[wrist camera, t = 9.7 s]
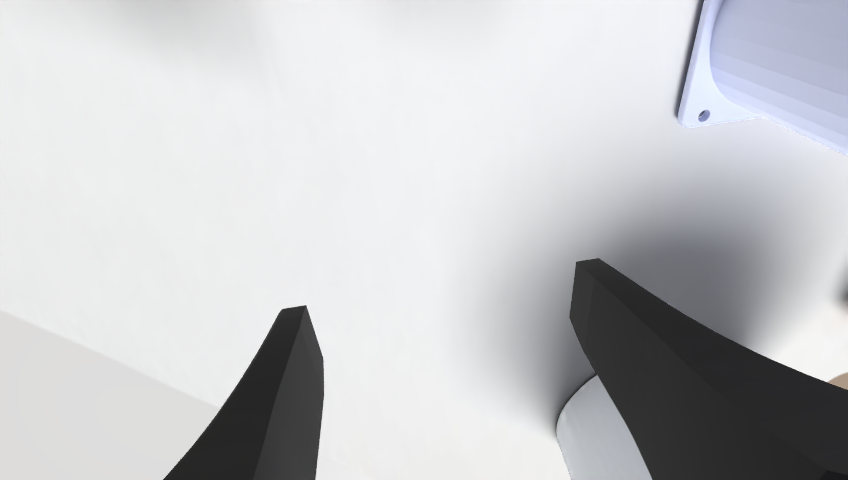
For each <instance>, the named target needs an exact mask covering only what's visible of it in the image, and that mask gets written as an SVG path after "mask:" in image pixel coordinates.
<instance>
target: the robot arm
mask: <svg viewBox="0 0 848 480" xmlns="http://www.w3.org/2000/svg"><path fill="white" fill-rule="evenodd" d="M702 111H704V114H703V115H702V116H701V117H700V118H698V117H699V115H700V113H701V112H702ZM756 118H766V119H768V120H770V121H772V122H774V123H776V124H779V125H781V126H783V127H785V128H787V129H789V130H792V131H794V132H796V133H798V134H800V135H802V136H805V137H807V138H809V139H811V140H813V141H815V142H817V143H820V144H822V145H824V146H826V147H828V148H830V149H833V150H835V151H837V152H839V153H841V154H843V155H846V156H848V0H704V3H703V8H702V12H701V16H700V21H699V25H698V29H697V34H696V38H695V43H694V47H693V51H692V56H691V60H690V64H689V69H688V73H687V78H686V82H685V86H684V91H683V95H682V99H681V104H680V108H679V112H678V122H679V124H681V125H682V126H684V127H685V128H694V127H701V126H707V125H714V124H721V123H728V122H735V121H742V120H749V119H756ZM570 320H571V322H572V325H573V327H574V330H575V332H576V335H577V337H578V339H579V342H580V344H581V346H582V349H583V351H584V353H585V354H586V356H587V358H588V360H589V361H590V363H591V365H592V367H593V368H594V370H595V372H596V374H597V375H598V377H599V379H600V381H601V382H602V384H603V386H604V387H605V389H606V391H607V393H608V394H609V396H610V398H611V399H612V401H613V403H614V405H615V406H616V408H617V410H618V411H619V413H620V415H621V416H622V418H623V420H624V422H625V423H626V425H627V427H628V429H629V431H630V433H631V435H632V437H633V439H634V441H635V443H636V445H637V447H638V449H639V452H640V454H641V456H642V458H643V460H644V462H645V465H646V467H647V469H648V471H649V473H650V476H651V478H652V480H848V390H846V389H843V388H841V387H838V386H835V385H832V384H829V383H827V382H824V381H822V380H819V379H817V378H814V377H812V376H809V375H806V374H804V373H802V372H799V371H797V370H795V369H792V368H790V367H787V366H785V365H783V364H780V363H778V362H776V361H773V360H771V359H769V358H767V357H765V356H762V355H760V354H758V353H756V352H754V351H752V350H750V349H748V348H746V347H744V346H742V345H740V344H738V343H736V342H734V341H732V340H730V339H728V338H726V337H724V336H722V335H720V334H718V333H716V332H714V331H712V330H711V329H709V328H707V327H705V326H704V325H702V324H700V323H698V322H697V321H695V320H693V319H691V318H690V317H688V316H686V315H685V314H683V313H681V312H680V311H678V310H676V309H675V308H673V307H671V306H670V305H668V304H667V303H665V302H664V301H662V300H660V299H659V298H657V297H656V296H654V295H653V294H651V293H650V292H648V291H647V290H645V289H644V288H642V287H641V286H639V285H638V284H636V283H635V282H633V281H632V280H630V279H629V278H627V277H626V276H624V275H623V274H621V273H620V272H619V271H617V270H616V269H614V268H613V267H611V266H610V265H608V264H607V263H605V262H603V261H602V260H600V259H599V258H597V259H591V260H585V261H579V262H576V269H575V277H574V285H573V293H572V301H571V310H570ZM323 400H324V368H323V356H322V353H321V350H320V347H319V344H318V341H317V338H316V335H315V332H314V328H313V325H312V322H311V319H310V316H309V313H308V310H307V307H306V305H305V306H299V307H292V308H286V309H282V310H281V311H280V313H279V314H278V316H277V318H276V320H275V322H274V324H273V325H272V327H271V329H270V331H269V333H268V335H267V336H266V338H265V340H264V342H263V343H262V345H261V347H260V349H259V350H258V352H257V354H256V356H255V357H254V359H253V360H252V362H251V364H250V365H249V367H248V369H247V370H246V372H245V374H244V375H243V377H242V378H241V380H240V381H239V383H238V384H237V386H236V387H235V389H234V390H233V392H232V393H231V395H230V396H229V398H228V399H227V401H226V402H225V403H224V405H223V406H222V408H221V409H220V411H219V412H218V413H217V415H216V416H215V418H214V419H213V420H212V422H211V423H210V424H209V426H208V427H207V428H206V430H205V431H204V432H203V433H202V435H201V436H200V437H199V438H198V440H197V441H196V442H195V443H194V445H193V446H192V447H191V448H190V450H189V451H188V452H187V453H186V454H185V455H184V457H183V458H182V459H181V460H180V461H179V462H178V464H177V465H176V466H175V467H174V468H173V469H172V470H171V471H170V473H169V474H168V475H167V476H166V477H165V478H164V479H163V480H315V477H316V468H317V458H318V449H319V439H320V430H321V420H322V410H323Z"/></svg>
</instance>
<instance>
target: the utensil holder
mask: <svg viewBox="0 0 848 480" xmlns="http://www.w3.org/2000/svg"><path fill="white" fill-rule="evenodd" d="M556 433H557V439H558V442H559V446H560V449H561V452H562V455H563V458H564V460H565V463H566V466H567V468H568V471H569V474H570V477H571V480H652V478H651V476H650V473H649V471H648V469H647V467H646V465H645V462H644V460H643V458H642V456H641V454H640V452H639V449H638V447H637V445H636V443H635V441H634V439H633V437H632V435H631V433H630V431H629V429H628V427H627V425H626V423H625V422H624V420H623V418H622V416H621V415H620V413H619V411H618V410H617V408H616V406H615V405H614V403H613V401H612V399H611V398H610V396H609V394H608V393H607V391H606V389H605V387H604V386H603V384H602V382H601V381H600V379H599V377H598V375H596V376H595V377H593V378H592V379H591V380H589V381H588V382H587V383H586V384H584V385H583V386H582V387H581V388H580V389H579V390H578V391H577V392H576V393H575V394H574V395H573V396H572V397H571V399H570V400H569V401H568V402H567V404H566V405H565V407H564V408H563V410H562V412H561V414H560V416H559V419H558V423H557V430H556Z"/></svg>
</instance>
